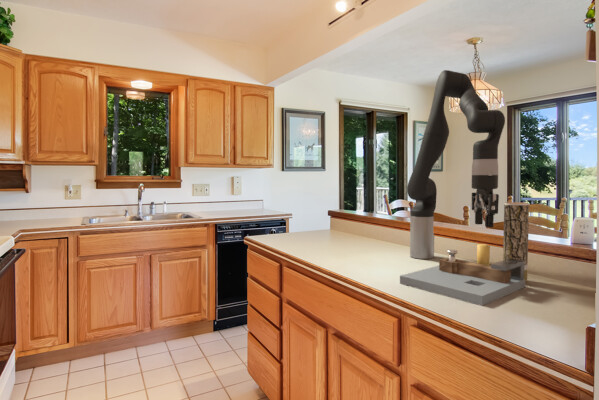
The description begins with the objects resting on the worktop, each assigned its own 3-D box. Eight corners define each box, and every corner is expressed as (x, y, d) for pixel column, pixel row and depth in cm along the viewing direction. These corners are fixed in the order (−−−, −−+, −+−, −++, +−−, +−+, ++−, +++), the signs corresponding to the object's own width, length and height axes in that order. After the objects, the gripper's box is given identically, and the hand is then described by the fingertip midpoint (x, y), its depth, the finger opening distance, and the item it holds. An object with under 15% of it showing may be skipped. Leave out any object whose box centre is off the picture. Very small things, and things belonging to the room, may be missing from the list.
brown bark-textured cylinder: (518, 284, 114) (520, 204, 112) (497, 279, 120) (499, 202, 118) (531, 281, 117) (533, 203, 115) (510, 276, 123) (512, 202, 121)
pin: (480, 270, 121) (480, 243, 121) (491, 272, 118) (491, 245, 118) (474, 272, 119) (475, 244, 119) (485, 274, 116) (486, 246, 116)
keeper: (509, 284, 114) (510, 258, 113) (523, 287, 111) (524, 260, 110) (490, 292, 107) (491, 264, 106) (504, 295, 103) (505, 266, 103)
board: (445, 270, 132) (445, 263, 132) (524, 287, 111) (525, 278, 111) (399, 283, 116) (399, 275, 116) (482, 305, 96) (482, 296, 95)
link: (438, 270, 122) (438, 260, 122) (448, 267, 126) (448, 257, 126) (502, 284, 106) (503, 272, 105) (512, 280, 109) (512, 268, 109)
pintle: (449, 276, 124) (450, 249, 123) (458, 278, 121) (459, 250, 121) (444, 278, 122) (445, 250, 121) (453, 280, 119) (454, 251, 119)
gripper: (463, 174, 124) (463, 223, 125) (482, 173, 110) (481, 228, 111) (486, 174, 124) (485, 223, 125) (508, 173, 110) (507, 228, 111)
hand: (483, 225), depth 118 cm, fingers open, 7 cm apart
